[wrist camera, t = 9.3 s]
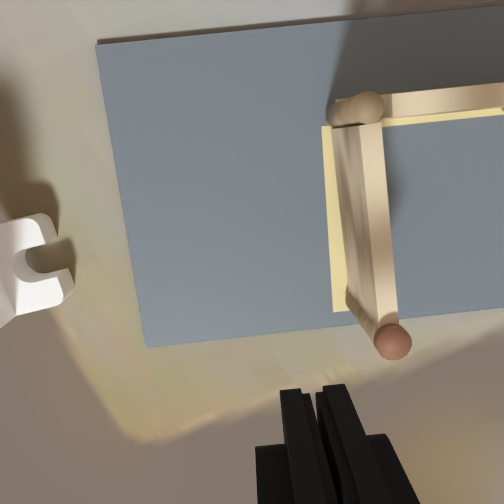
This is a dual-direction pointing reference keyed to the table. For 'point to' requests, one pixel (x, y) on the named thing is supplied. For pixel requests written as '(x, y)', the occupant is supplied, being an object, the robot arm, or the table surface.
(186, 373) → the table surface
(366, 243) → the fence swing panel
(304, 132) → the card
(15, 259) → the cable organizer
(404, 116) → the fence fixed section
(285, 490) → the robot arm
